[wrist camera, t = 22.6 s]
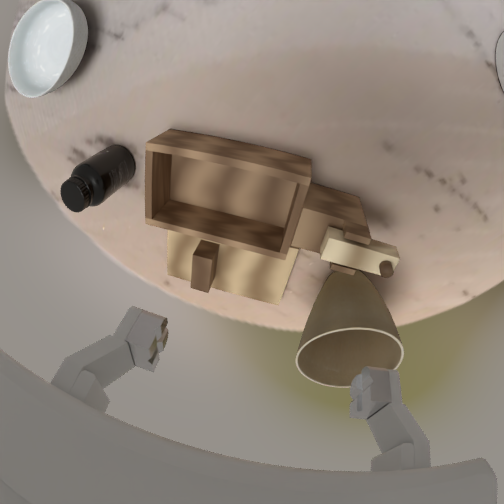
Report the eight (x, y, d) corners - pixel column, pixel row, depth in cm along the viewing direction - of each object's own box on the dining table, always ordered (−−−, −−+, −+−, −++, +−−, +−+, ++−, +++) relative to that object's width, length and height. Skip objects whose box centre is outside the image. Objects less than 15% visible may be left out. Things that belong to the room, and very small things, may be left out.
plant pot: (380, 238, 41) (401, 316, 29) (392, 303, 48) (404, 377, 36) (290, 261, 47) (279, 340, 34) (316, 319, 54) (311, 392, 42)
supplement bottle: (111, 136, 39) (60, 164, 30) (142, 159, 41) (96, 192, 31) (98, 168, 43) (52, 201, 33) (126, 190, 45) (84, 228, 35)
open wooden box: (366, 176, 36) (383, 214, 28) (338, 245, 44) (342, 294, 35) (170, 129, 37) (130, 152, 29) (165, 201, 45) (133, 238, 36)
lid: (299, 241, 45) (297, 266, 40) (279, 296, 52) (275, 322, 47) (173, 209, 45) (156, 229, 40) (172, 267, 53) (158, 289, 48)
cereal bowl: (48, 104, 36) (20, 115, 31) (29, 35, 28) (1, 40, 22) (114, 59, 31) (83, 63, 26) (92, -20, 22) (62, -24, 17)
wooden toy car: (395, 246, 32) (402, 265, 29) (385, 265, 34) (390, 284, 31) (328, 226, 32) (329, 244, 30) (320, 246, 34) (320, 265, 31)
